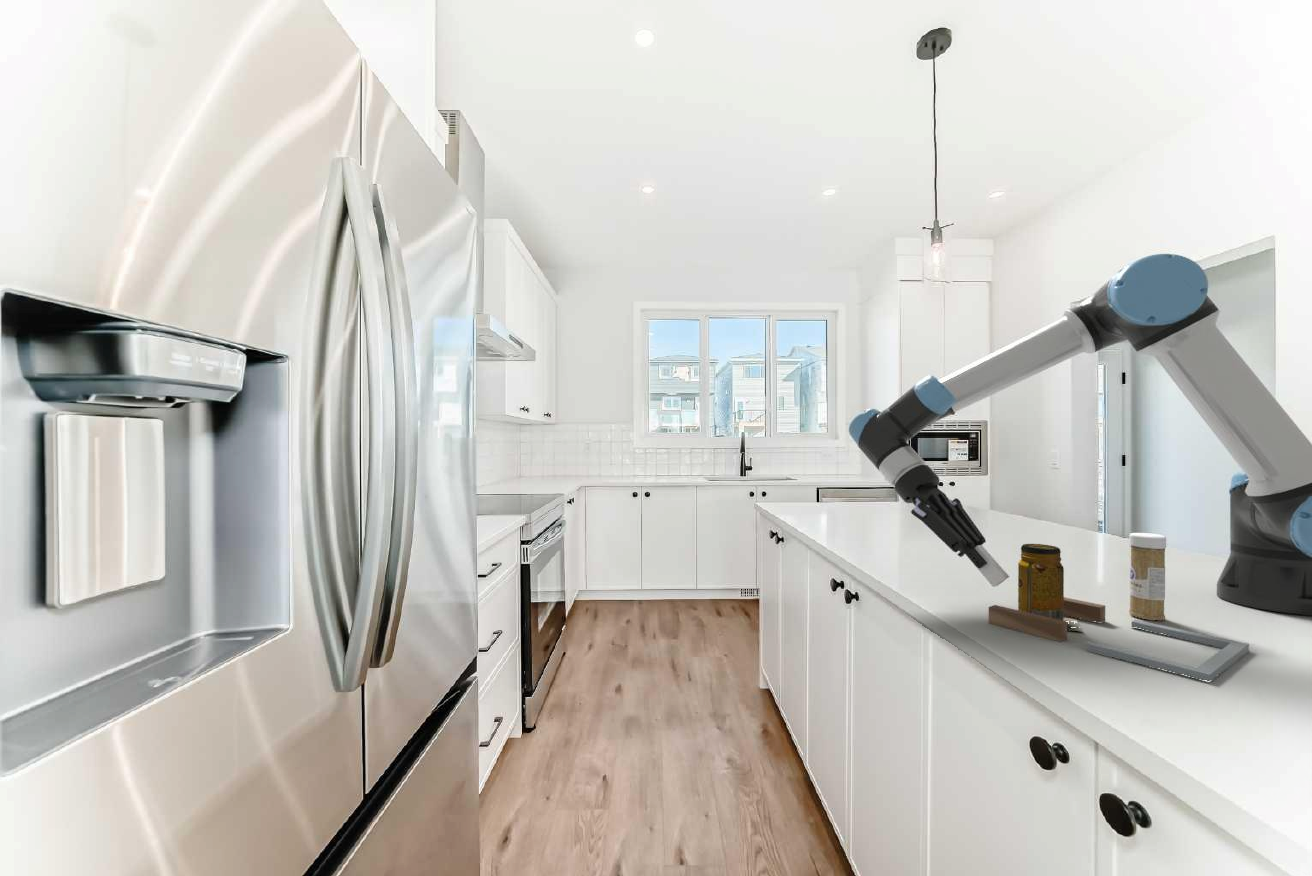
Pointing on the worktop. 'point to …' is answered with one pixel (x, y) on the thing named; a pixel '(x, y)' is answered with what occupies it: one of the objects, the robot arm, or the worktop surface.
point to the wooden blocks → (1046, 618)
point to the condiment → (1042, 583)
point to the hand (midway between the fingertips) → (1001, 581)
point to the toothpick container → (1147, 576)
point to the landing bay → (1204, 671)
